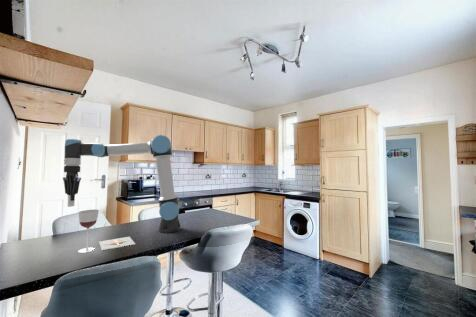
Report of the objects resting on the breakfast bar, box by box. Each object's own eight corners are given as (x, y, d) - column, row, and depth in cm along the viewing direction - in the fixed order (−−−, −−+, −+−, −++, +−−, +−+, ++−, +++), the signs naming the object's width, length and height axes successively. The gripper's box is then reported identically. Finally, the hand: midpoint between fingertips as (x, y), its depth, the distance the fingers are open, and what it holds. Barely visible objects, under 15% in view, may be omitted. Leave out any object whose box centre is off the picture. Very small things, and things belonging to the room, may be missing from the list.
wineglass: (72, 251, 108) (74, 212, 109) (89, 246, 116) (91, 209, 117) (84, 253, 105) (86, 213, 106) (100, 247, 113) (102, 210, 115)
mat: (129, 237, 132) (129, 236, 132) (135, 244, 119) (135, 243, 119) (98, 242, 122) (98, 241, 122) (101, 250, 109) (101, 249, 109)
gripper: (58, 165, 123) (56, 206, 122) (72, 165, 118) (70, 208, 117) (72, 165, 130) (71, 204, 129) (86, 165, 125) (85, 205, 124)
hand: (70, 206), depth 123 cm, fingers closed
